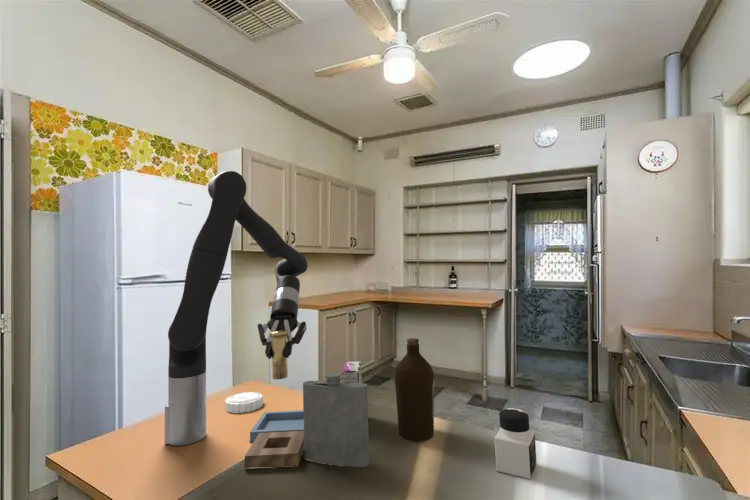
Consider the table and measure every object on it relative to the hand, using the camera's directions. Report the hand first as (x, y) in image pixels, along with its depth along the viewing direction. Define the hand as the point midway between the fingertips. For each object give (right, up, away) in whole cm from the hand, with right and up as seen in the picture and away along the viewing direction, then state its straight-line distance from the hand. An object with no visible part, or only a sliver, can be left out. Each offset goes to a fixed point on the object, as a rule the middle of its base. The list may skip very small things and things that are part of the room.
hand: (277, 356), depth 96 cm
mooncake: (-18, -25, +27) cm, 41 cm away
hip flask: (+16, -21, -11) cm, 29 cm away
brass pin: (0, -6, +2) cm, 6 cm away
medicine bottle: (+56, -20, -16) cm, 62 cm away
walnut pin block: (+2, -22, -8) cm, 23 cm away
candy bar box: (+19, -23, +10) cm, 31 cm away
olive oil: (+37, -21, +2) cm, 42 cm away
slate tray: (-1, -23, +7) cm, 24 cm away
